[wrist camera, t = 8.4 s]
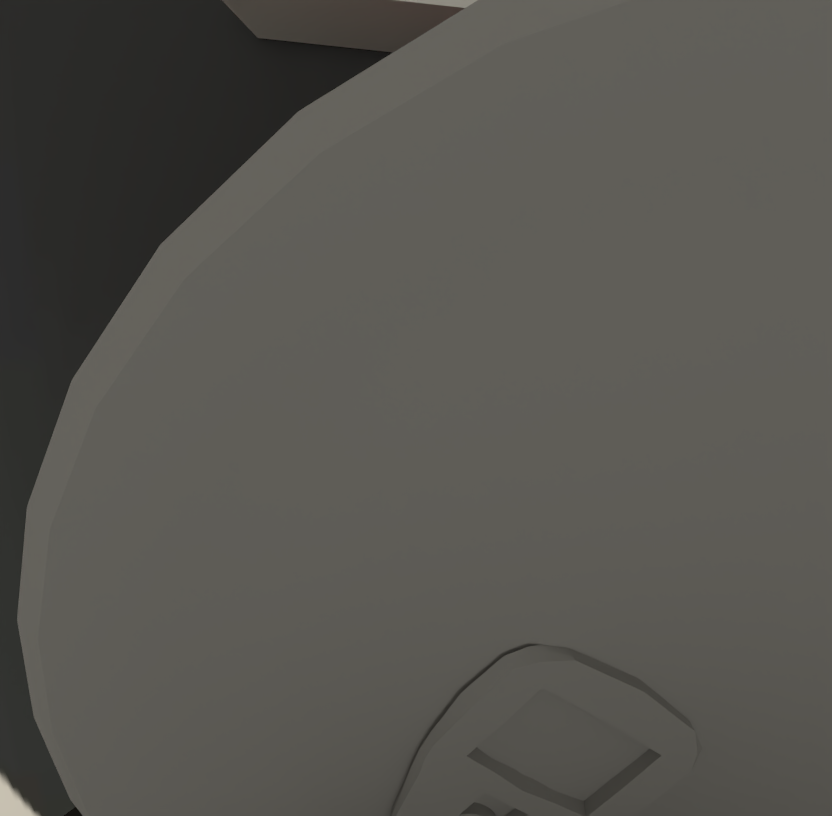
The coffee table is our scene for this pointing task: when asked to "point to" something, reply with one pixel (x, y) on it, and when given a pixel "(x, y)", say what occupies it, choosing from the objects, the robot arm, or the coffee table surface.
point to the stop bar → (345, 20)
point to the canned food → (469, 444)
